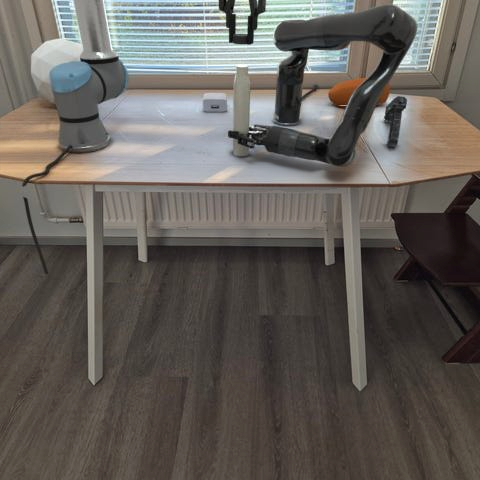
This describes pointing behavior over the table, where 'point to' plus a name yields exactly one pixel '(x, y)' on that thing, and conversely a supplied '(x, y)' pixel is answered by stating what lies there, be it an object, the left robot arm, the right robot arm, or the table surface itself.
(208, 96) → the charger
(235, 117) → the bottle
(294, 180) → the table surface
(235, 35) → the cap
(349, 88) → the clog
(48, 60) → the decorative sphere
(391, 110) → the futuristic handgun
